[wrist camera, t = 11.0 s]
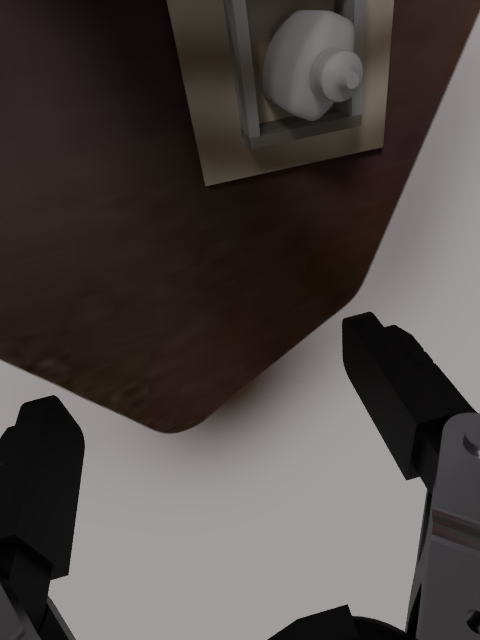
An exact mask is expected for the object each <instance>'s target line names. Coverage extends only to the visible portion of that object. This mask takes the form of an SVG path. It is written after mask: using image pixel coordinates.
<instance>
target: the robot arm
mask: <svg viewBox="0 0 480 640" xmlns="http://www.w3.org/2000/svg"><path fill="white" fill-rule="evenodd" d="M342 343H343V344H342V345H343V362H344V367H345V370H346V372H347V375H348V377H349V379H350V381H351V382H352V384H353V386H354V388H355V390H356V392H357V393H358V395H359V397H360V399H361V400H362V402H363V404H364V406H365V407H366V409H367V411H368V413H369V415H370V417H371V418H372V420H373V422H374V424H375V425H376V427H377V429H378V431H379V433H380V434H381V436H382V438H383V440H384V442H385V443H386V445H387V447H388V449H389V450H390V452H391V454H392V456H393V457H394V459H395V461H396V463H397V465H398V467H399V468H400V470H401V472H402V474H403V475H404V477H405V479H406V480H409V479H413V478H416V477H421V479H422V481H423V482H424V484H425V486H426V487H427V493H426V500H425V508H424V514H423V521H422V528H421V534H420V541H419V548H418V556H417V562H416V568H415V574H414V579H413V584H412V590H411V595H410V601H409V608H408V614H407V621H406V628H405V632H404V631H402V630H400V629H398V628H396V627H394V626H392V625H390V624H388V623H385V622H382V621H379V620H376V619H371V618H366V617H359V616H352V615H351V613H350V610H349V607H348V605H344V606H340V607H337V608H334V609H331V610H327V611H324V612H320V613H317V614H313V615H310V616H307V617H303V618H300V619H297V620H296V621H294V622H293V623H291V624H290V625H288V626H287V627H285V628H284V629H283V630H281V631H280V632H278V633H277V634H275V635H274V636H273V637H271V638H269V639H268V640H480V414H478V413H477V412H476V411H475V410H474V409H473V408H472V407H471V406H470V405H469V403H468V402H467V401H466V400H465V399H464V397H463V396H462V395H461V394H460V393H459V392H458V390H457V389H456V388H455V386H454V385H453V384H452V383H451V382H450V380H449V379H448V378H447V377H446V376H445V374H444V373H443V372H442V371H441V370H440V368H439V367H438V366H437V365H436V364H434V363H433V360H432V359H431V358H430V356H429V355H428V354H427V353H426V352H424V350H423V348H422V347H421V345H420V344H419V343H418V342H417V341H416V340H415V338H414V337H413V336H412V335H411V334H409V333H408V332H406V331H404V330H402V329H401V328H399V327H397V326H396V325H391V326H388V327H383V325H382V324H381V323H380V322H379V320H378V319H377V318H376V316H375V315H374V314H373V313H372V312H366V313H363V314H359V315H355V316H352V317H348V318H344V319H343V322H342ZM84 449H85V443H84V437H83V433H82V431H81V428H80V427H79V425H78V424H77V423H76V421H75V420H74V419H73V417H72V416H71V414H70V413H69V412H68V410H67V409H66V408H65V406H64V405H63V404H62V402H61V401H60V400H59V398H57V397H56V396H54V395H52V396H48V397H44V398H41V399H37V400H33V401H29V402H26V403H24V404H23V405H22V406H21V408H20V411H19V414H18V418H17V421H16V424H15V426H12V427H8V428H7V429H6V431H5V432H4V434H3V435H2V436H1V438H0V640H76V639H75V637H74V636H73V634H72V633H71V631H70V629H69V628H68V626H67V624H66V623H65V621H64V619H63V618H62V617H61V615H60V613H59V612H58V610H57V608H56V606H55V605H54V603H53V602H52V600H51V599H50V598H49V597H48V591H49V584H50V580H53V579H56V578H60V577H63V576H67V575H68V573H69V565H70V558H71V550H72V542H73V535H74V527H75V519H76V511H77V504H78V495H79V489H80V481H81V473H82V466H83V458H84Z"/></svg>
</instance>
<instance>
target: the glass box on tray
mask: <svg viewBox="0 0 480 640" xmlns="http://www.w3.org/2000/svg"><path fill="white" fill-rule="evenodd" d="M166 1H167V6H168V11H169V15H170V20H171V25H172V30H173V35H174V39H175V44H176V49H177V54H178V59H179V63H180V68H181V73H182V78H183V82H184V87H185V92H186V97H187V102H188V106H189V111H190V116H191V121H192V126H193V130H194V135H195V140H196V145H197V150H198V154H199V159H200V164H201V169H202V173H203V178H204V183H205V186H209V185H214V184H218V183H223V182H227V181H232V180H236V179H241V178H245V177H250V176H254V175H259V174H263V173H268V172H273V171H277V170H282V169H286V168H291V167H295V166H300V165H304V164H309V163H313V162H318V161H322V160H327V159H331V158H336V157H341V156H345V155H350V154H354V153H359V152H363V151H368V150H372V149H377V148H381V147H383V140H384V127H385V114H386V101H387V88H388V74H389V61H390V48H391V35H392V21H393V8H394V0H166ZM292 10H324V11H332V12H334V13H337V14H339V15H341V16H343V17H345V18H347V19H349V20H350V21H351V22H352V23H353V25H354V29H355V45H354V53H356V55H358V57H359V58H360V61H361V63H362V65H363V77H362V82H361V85H360V87H359V89H358V90H357V92H356V93H355V94H354V95H353V96H352V97H350V99H348V100H346V101H343V102H334V103H333V104H332V106H331V107H330V108H329V109H328V110H327V111H326V112H325V113H324V115H322V116H321V117H320V118H319V119H317V120H316V121H309V120H305V119H302V118H300V117H297V116H295V115H292V114H291V113H289V112H287V111H286V110H284V109H283V108H281V107H280V106H278V105H277V104H275V103H274V102H272V101H271V100H270V99H268V98H267V97H266V96H265V95H264V92H263V86H262V76H263V66H264V60H265V56H266V52H267V49H268V46H269V43H270V41H271V39H272V37H273V35H274V33H275V31H276V29H277V27H278V26H279V24H280V23H281V21H282V20H283V18H284V17H285V16H286V15H287V14H288V13H289V12H291V11H292Z"/></svg>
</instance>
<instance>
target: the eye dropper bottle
mask: <svg viewBox="0 0 480 640" xmlns="http://www.w3.org/2000/svg"><path fill="white" fill-rule="evenodd" d="M354 45H355V29H354V25H353V23H352V22H351V21H350V20H349V19H347V18H345V17H343V16H341V15H339V14H337V13H334V12H332V11H324V10H292V11H291V12H289V13H288V14H287V15H286V16H285V17H284V18H283V20H282V21H281V23H280V24H279V26H278V27H277V29H276V31H275V33H274V35H273V37H272V39H271V41H270V43H269V46H268V49H267V52H266V56H265V60H264V66H263V76H262V86H263V92H264V95H265V96H266V97H267V98H268V99H270V100H271V101H272V102H274V103H275V104H277V105H278V106H280V107H281V108H283V109H284V110H286V111H287V112H289V113H291V114H292V115H295V116H297V117H300V118H302V119H305V120H309V121H316V120H317V119H319V118H320V117H321V116H322V115H324V113H325V112H326V111H327V110H328V109H329V108H330V107H331V106H332V104H333V103H334V102H343V101H346V100H348V99H350V97H352V96H353V95H354V94H355V93H356V92H357V90H358V89H359V87H360V85H361V82H362V77H363V65H362V63H361V61H360V58H359V57H358V55H356V53H354Z"/></svg>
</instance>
